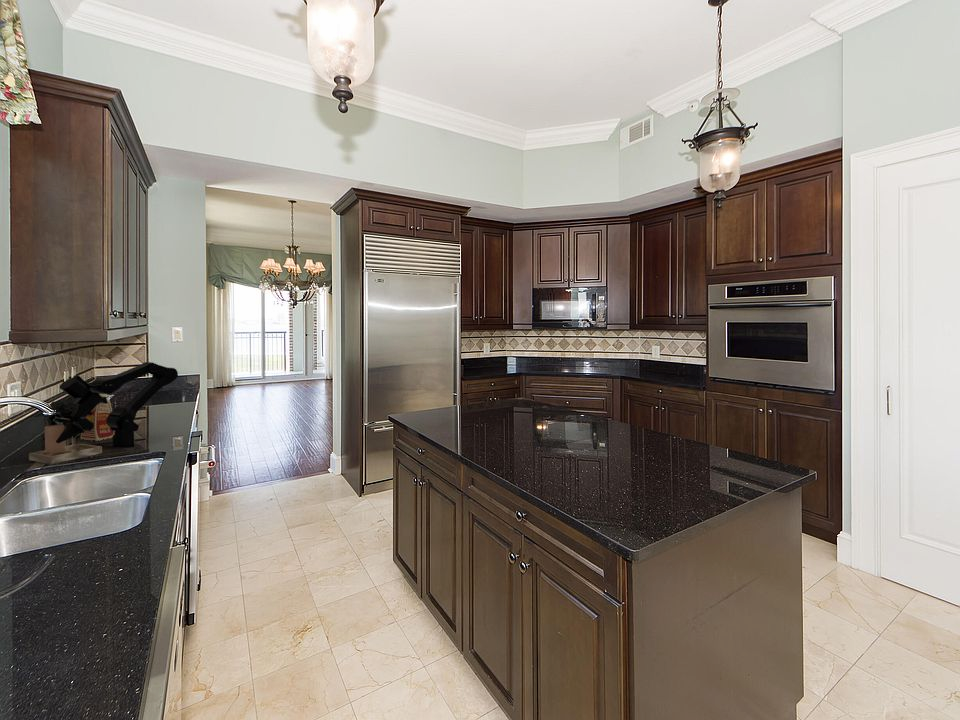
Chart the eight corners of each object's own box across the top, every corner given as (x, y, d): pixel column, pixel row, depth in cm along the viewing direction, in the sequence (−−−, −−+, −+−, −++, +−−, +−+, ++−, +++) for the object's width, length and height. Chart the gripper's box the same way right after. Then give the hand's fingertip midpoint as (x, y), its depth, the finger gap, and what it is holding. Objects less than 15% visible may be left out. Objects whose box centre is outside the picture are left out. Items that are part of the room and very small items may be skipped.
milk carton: (97, 440, 196) (96, 393, 195) (79, 439, 198) (78, 392, 197) (117, 436, 205) (117, 391, 204) (100, 434, 207) (99, 390, 205)
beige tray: (80, 451, 179) (80, 443, 179) (102, 454, 175) (101, 446, 175) (29, 461, 164) (28, 453, 164) (51, 465, 160) (51, 457, 160)
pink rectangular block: (60, 456, 169) (59, 424, 168) (65, 457, 168) (64, 424, 167) (45, 460, 165) (44, 426, 164) (50, 460, 164) (49, 426, 163)
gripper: (49, 391, 172) (12, 426, 162) (83, 394, 166) (47, 431, 156) (74, 409, 180) (40, 443, 170) (108, 413, 174) (75, 449, 164)
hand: (50, 441), depth 165 cm, fingers open, 7 cm apart
